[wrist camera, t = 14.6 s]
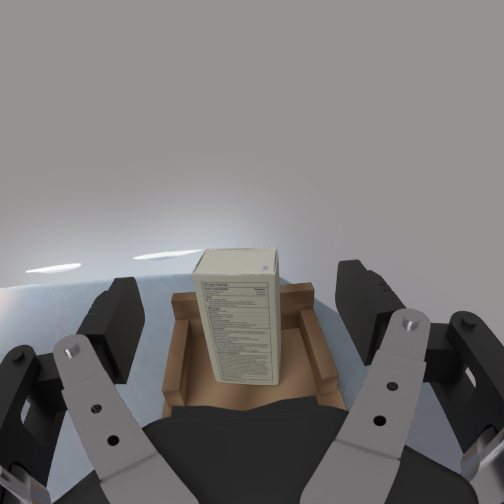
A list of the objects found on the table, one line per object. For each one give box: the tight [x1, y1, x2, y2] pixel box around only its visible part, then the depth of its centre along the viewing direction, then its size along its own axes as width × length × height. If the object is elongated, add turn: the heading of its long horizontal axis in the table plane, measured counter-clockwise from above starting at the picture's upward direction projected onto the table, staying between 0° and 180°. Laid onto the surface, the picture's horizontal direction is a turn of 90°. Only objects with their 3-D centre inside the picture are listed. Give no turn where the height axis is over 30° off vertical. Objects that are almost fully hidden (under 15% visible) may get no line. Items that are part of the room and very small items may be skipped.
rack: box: [162, 282, 347, 418], centre depth 28 cm, size 16×14×6 cm
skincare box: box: [192, 248, 281, 385], centre depth 26 cm, size 6×4×12 cm
